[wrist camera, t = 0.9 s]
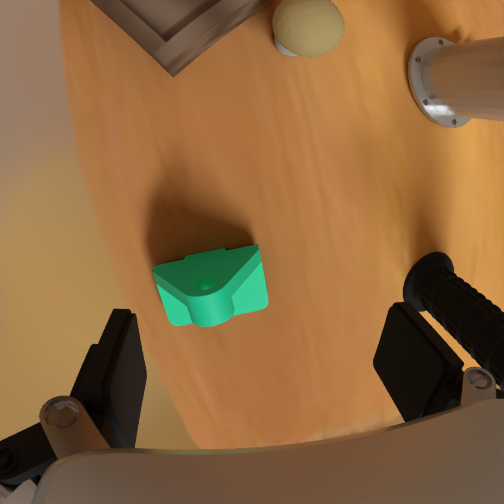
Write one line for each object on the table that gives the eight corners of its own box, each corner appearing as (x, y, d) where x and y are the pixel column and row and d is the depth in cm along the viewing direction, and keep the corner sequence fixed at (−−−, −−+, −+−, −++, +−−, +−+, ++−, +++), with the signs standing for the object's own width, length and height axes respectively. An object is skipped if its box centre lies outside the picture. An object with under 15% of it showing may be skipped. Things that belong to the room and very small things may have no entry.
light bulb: (251, 26, 28) (267, -8, 19) (303, 11, 28) (336, -22, 18) (274, 76, 30) (299, 58, 21) (326, 59, 30) (367, 40, 21)
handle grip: (427, 319, 46) (462, 268, 43) (526, 430, 22) (578, 362, 19) (391, 298, 43) (429, 240, 40) (504, 430, 19) (570, 344, 16)
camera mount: (173, 315, 40) (166, 369, 30) (155, 261, 37) (140, 308, 27) (265, 296, 40) (282, 348, 31) (256, 240, 37) (272, 281, 28)
